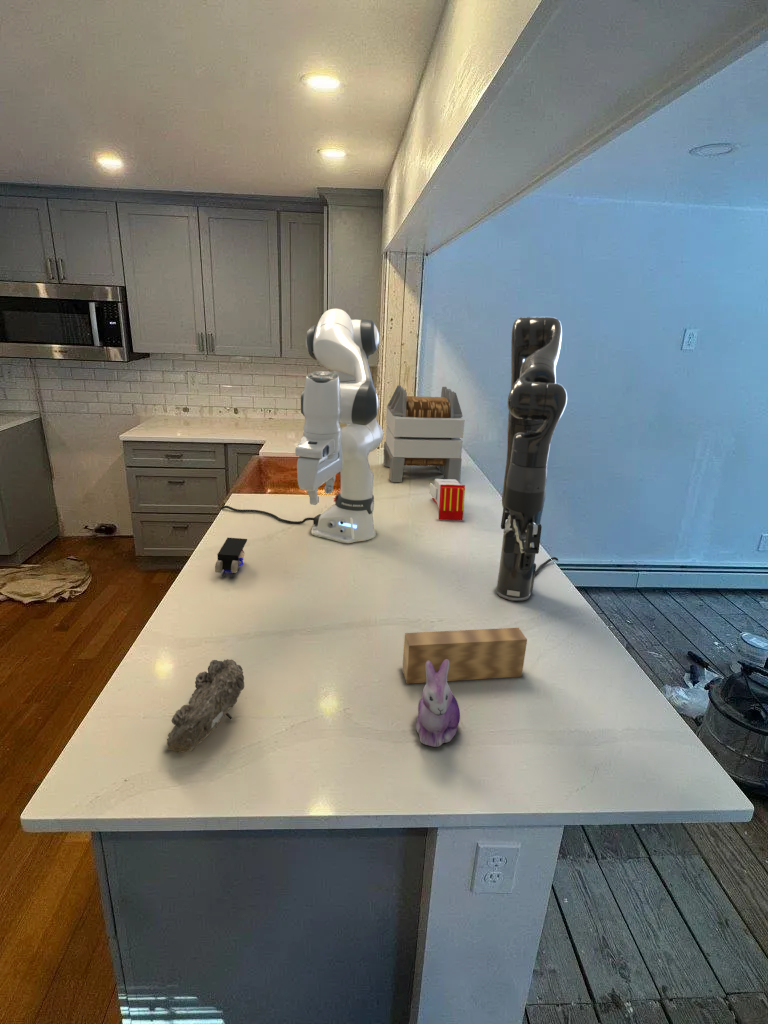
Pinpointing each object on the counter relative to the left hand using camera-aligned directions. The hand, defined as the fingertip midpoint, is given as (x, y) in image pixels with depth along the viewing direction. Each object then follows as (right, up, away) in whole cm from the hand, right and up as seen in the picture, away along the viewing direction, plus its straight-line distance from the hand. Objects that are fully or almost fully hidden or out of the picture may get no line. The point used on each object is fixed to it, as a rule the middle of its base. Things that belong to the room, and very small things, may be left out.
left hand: (321, 498), depth 139 cm
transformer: (+32, +15, +136) cm, 141 cm away
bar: (+32, -39, -14) cm, 52 cm away
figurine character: (-30, -20, +29) cm, 46 cm away
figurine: (+25, -45, -32) cm, 60 cm away
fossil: (-18, -43, -30) cm, 55 cm away
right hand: (+42, -13, -22) cm, 49 cm away
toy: (+40, -2, +89) cm, 97 cm away
